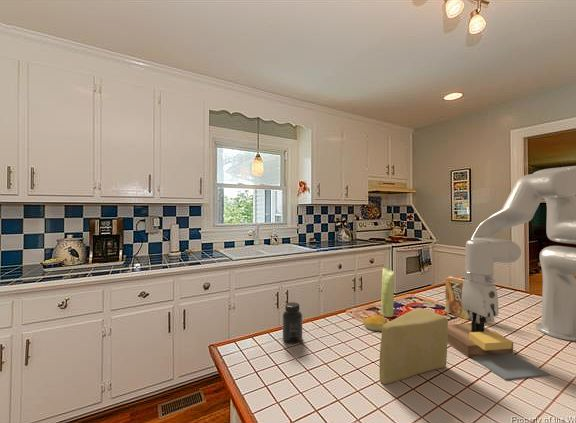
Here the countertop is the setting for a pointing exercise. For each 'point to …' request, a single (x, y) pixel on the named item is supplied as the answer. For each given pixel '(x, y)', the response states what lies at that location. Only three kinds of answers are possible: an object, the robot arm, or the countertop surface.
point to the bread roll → (374, 322)
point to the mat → (509, 366)
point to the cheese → (413, 345)
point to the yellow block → (490, 340)
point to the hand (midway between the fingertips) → (477, 333)
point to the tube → (387, 293)
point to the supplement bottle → (292, 323)
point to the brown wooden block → (469, 341)
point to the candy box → (455, 297)
